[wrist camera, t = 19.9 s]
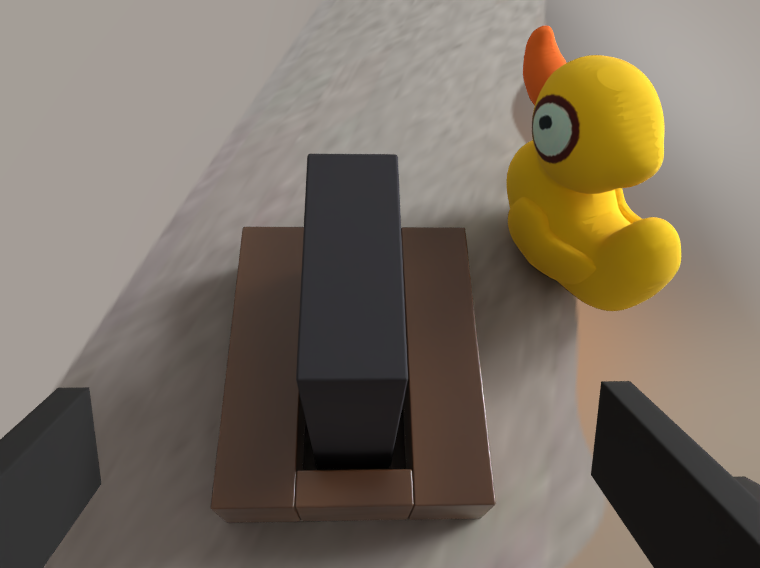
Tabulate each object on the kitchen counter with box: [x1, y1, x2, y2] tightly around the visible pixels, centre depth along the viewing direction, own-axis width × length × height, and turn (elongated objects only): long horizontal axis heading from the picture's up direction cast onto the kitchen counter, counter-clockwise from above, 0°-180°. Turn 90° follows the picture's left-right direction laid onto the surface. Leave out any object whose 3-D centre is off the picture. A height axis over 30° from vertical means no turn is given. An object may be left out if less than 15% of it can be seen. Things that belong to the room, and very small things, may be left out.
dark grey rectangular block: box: [296, 154, 408, 469], centre depth 22 cm, size 3×8×10 cm, turn 1°
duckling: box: [507, 26, 681, 311], centre depth 26 cm, size 11×5×10 cm, turn 24°
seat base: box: [211, 227, 496, 523], centre depth 25 cm, size 10×12×3 cm
